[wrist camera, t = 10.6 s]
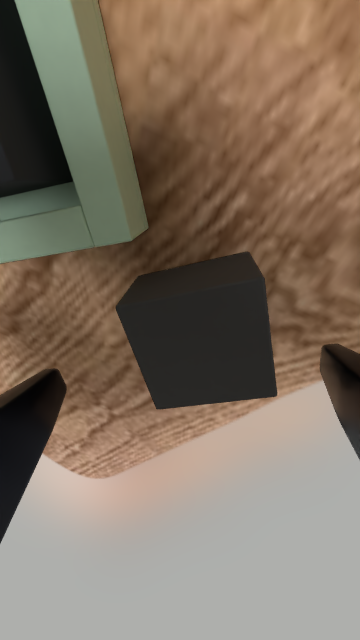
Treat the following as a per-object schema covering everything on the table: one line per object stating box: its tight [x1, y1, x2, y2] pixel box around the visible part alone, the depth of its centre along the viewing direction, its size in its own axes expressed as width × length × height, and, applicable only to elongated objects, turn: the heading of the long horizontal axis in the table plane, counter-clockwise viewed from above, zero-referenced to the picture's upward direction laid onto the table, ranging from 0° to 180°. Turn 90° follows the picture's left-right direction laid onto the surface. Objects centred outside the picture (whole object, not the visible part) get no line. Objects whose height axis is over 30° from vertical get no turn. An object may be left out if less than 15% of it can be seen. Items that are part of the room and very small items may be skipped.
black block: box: [116, 252, 277, 409], centre depth 10 cm, size 4×4×3 cm
